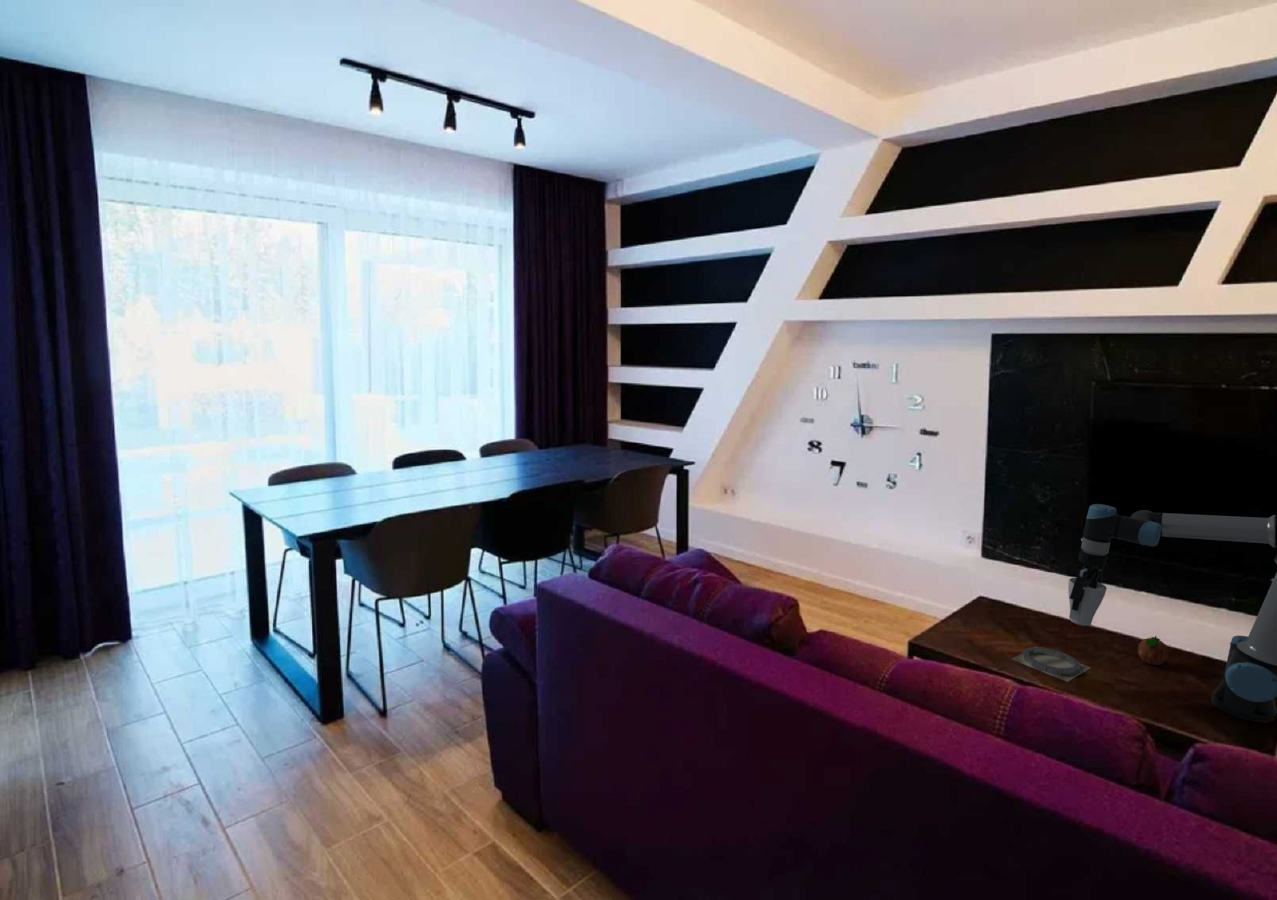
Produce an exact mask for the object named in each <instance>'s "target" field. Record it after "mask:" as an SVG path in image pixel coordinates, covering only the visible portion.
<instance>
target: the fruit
mask: <svg viewBox="0 0 1277 900" xmlns="http://www.w3.org/2000/svg"><path fill="white" fill-rule="evenodd" d="M1137 653H1138V656H1139V658H1140V659H1141V660H1142V661H1143V662H1145V663H1146V664H1149V665H1153V666H1158V665H1159V666H1160V665H1162V664H1164V663H1165V662H1166V661H1167V660H1168V658H1169V649H1168V646H1167V645H1166V644H1165V642H1163V641H1162V640H1161V639H1160V638H1158V637H1157V636H1156V635H1154V637H1153V636H1150V637H1147V638H1144V639H1143V640H1141V641H1140V642H1139V644H1138V647H1137Z"/></svg>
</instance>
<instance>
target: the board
mask: <svg viewBox="0 0 1277 900" xmlns="http://www.w3.org/2000/svg"><path fill="white" fill-rule="evenodd" d="M1030 657H1032V658H1033V659H1034V660H1036V661H1038V662H1040V663H1043V664H1045V665H1048V666H1052V667H1057V668H1072V667H1073V665H1071V664H1070V663H1068V662H1067V661H1065V660H1063V659H1060V658H1057V657H1055V656H1050V655H1045V654H1032V655H1030ZM1011 660H1012V661H1015V662H1018V664H1019V663H1020V664H1022V665H1025V666H1027V667H1030V668H1033V669H1034V670H1037V671H1039V672H1042V673H1045V674H1047V675H1049V676H1052V677H1054V678H1057V679H1059V680H1061V681H1064V682H1070V681H1071V680H1073V679H1075V678H1076V677H1078V676H1079V675H1082V674H1084V673H1085V672H1087V671H1089V670H1090V669H1091V668H1092V667H1091V666H1088V665H1085V664H1083V663H1080V662H1079V664H1080V666H1081V668H1080V672H1079V673H1077V674H1076V675H1057V674H1052V673H1047V672H1044V671H1042V670H1040V669H1037V668H1035V667H1032V666H1031V665H1030V664H1028V663H1027V662H1026V661H1024V658H1023V652H1022V653H1020V654H1018V655H1016V656H1015V657H1012V658H1011Z"/></svg>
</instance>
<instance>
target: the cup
mask: <svg viewBox="0 0 1277 900" xmlns="http://www.w3.org/2000/svg"><path fill="white" fill-rule="evenodd" d="M1075 580H1076V577H1071V578H1069V579H1068V584H1067V585H1068V586H1067V587H1068V589H1067V590H1068V601H1069V602H1068V603H1069V612H1070V611H1071V606H1072V601H1073V599H1070V596H1071V593H1072V589H1073V586H1074V583H1075ZM1083 590H1085V591H1084V596H1083V599H1082V602H1083V603H1082V608H1081V613H1080V618H1079V621H1077V620H1074V619H1071V618H1069V620H1070V622H1071V623H1073V624H1076V625H1078V626H1082V627H1083V626H1084V627H1088V626H1091V625H1092V623H1093V619H1094V617H1095V615H1096V612H1097V611H1098V609H1099V608H1100V606H1101V604H1102V601H1103V599H1104V598H1105V596H1106V592H1107V586H1106V585H1105V584H1103V583H1102V582H1101V583H1099V582H1098V584H1097V588H1096V589H1094V588H1091V587H1089V586H1088V587H1087V588H1085V587H1084V588H1083ZM1076 597H1077V596H1076Z"/></svg>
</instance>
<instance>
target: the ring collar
mask: <svg viewBox="0 0 1277 900" xmlns="http://www.w3.org/2000/svg"><path fill="white" fill-rule="evenodd" d="M1022 653H1023V658H1024V661H1026V662H1027V663H1028V664H1030V665H1031V666H1032V667H1035V668H1037V669H1040V670H1042V671H1044V672H1047V673H1052V674H1057V675H1076V674H1077V673H1079V672H1080V668H1081V666H1080V664H1081V663H1080V662H1079V660H1077V659H1076V658H1074V657H1073V656H1072V655H1069V654H1067V653H1065V652H1062V651H1060V650H1057V649H1052V648H1047V647H1042V646H1041V647H1040V646H1031V647H1028V648H1025V649H1023V652H1022ZM1032 654H1045V655H1050V656H1055V657H1057V658H1060V659H1063V660H1065V661H1067V662H1068V663H1070V664H1071V665H1073V667H1072V668H1057V667H1052V666H1048V665H1045V664H1043V663H1040V662H1038V661H1036V660H1034V659H1033V658H1032V657H1030V655H1032ZM1079 663H1080V664H1079ZM1032 667H1031V668H1032ZM1037 669H1036V670H1037ZM1042 671H1041V672H1042ZM1044 672H1043V673H1044ZM1047 673H1046V674H1047Z"/></svg>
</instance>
